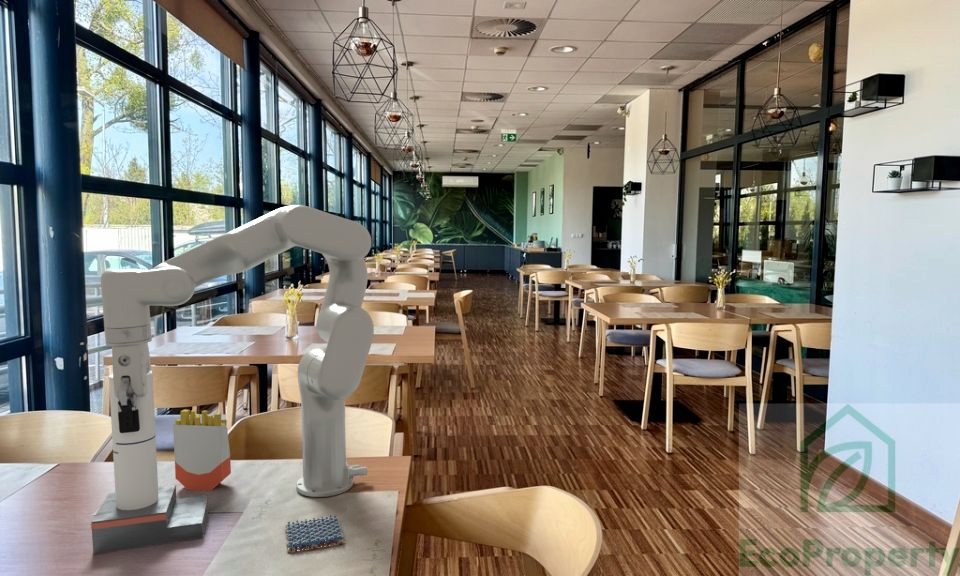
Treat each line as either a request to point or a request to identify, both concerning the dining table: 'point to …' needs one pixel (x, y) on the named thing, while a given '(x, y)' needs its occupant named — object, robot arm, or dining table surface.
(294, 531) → the woven mat
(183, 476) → the french fries container
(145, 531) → the step stand
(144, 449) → the cylindrical container
